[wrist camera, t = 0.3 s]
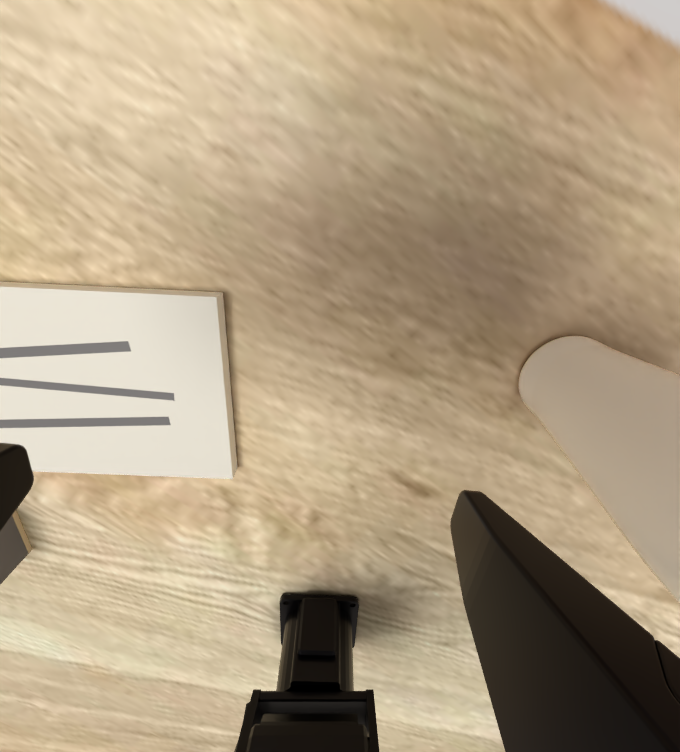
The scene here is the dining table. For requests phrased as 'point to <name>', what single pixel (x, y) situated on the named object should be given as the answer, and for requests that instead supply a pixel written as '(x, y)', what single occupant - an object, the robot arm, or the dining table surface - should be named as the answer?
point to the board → (116, 380)
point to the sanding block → (12, 546)
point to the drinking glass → (616, 438)
